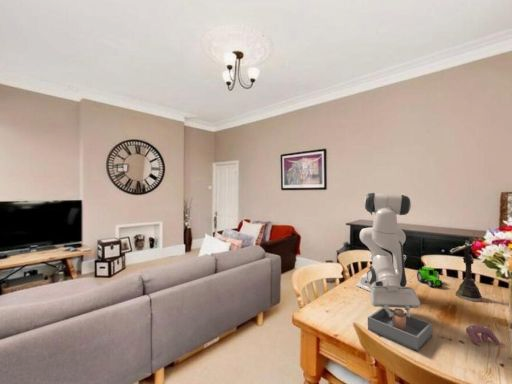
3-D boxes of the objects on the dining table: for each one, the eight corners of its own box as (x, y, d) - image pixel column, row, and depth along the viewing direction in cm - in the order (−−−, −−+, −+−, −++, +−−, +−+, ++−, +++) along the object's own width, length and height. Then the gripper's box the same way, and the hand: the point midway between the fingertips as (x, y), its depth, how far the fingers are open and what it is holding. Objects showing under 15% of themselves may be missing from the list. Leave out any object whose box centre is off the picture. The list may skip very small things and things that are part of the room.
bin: (367, 329, 111) (367, 317, 111) (384, 317, 121) (384, 306, 121) (417, 351, 96) (417, 337, 96) (432, 336, 106) (431, 323, 105)
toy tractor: (428, 288, 156) (428, 272, 156) (415, 279, 172) (415, 264, 172) (447, 289, 154) (447, 273, 154) (432, 279, 170) (432, 265, 170)
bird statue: (442, 295, 146) (442, 235, 145) (448, 288, 154) (447, 233, 154) (480, 304, 133) (479, 240, 133) (483, 297, 141) (483, 236, 141)
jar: (390, 328, 109) (390, 310, 109) (395, 324, 112) (395, 306, 112) (403, 333, 105) (403, 314, 105) (408, 328, 108) (408, 310, 108)
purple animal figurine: (492, 343, 102) (485, 324, 105) (502, 345, 98) (494, 325, 101) (468, 344, 102) (462, 325, 106) (476, 345, 98) (470, 325, 101)
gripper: (411, 289, 118) (422, 320, 109) (366, 288, 121) (373, 318, 111) (415, 284, 114) (428, 315, 104) (369, 282, 116) (377, 313, 107)
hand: (399, 317), depth 108 cm, fingers closed on jar, 5 cm apart
